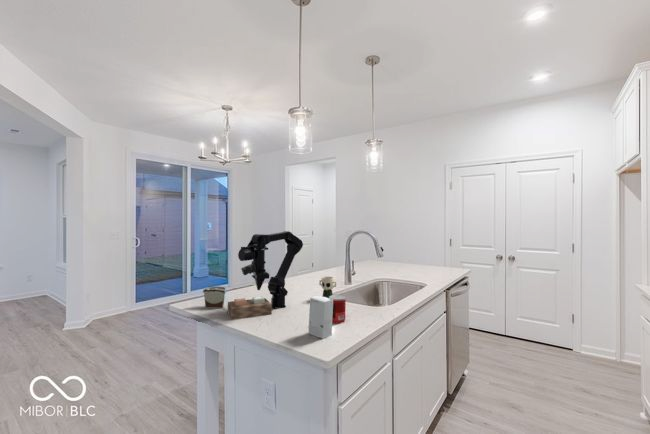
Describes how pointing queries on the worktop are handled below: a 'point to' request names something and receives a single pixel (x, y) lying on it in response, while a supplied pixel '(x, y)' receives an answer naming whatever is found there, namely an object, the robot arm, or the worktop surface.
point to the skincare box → (320, 316)
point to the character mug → (327, 286)
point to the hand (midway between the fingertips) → (258, 290)
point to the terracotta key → (239, 302)
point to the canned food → (338, 308)
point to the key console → (249, 309)
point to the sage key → (258, 300)
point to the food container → (214, 297)
